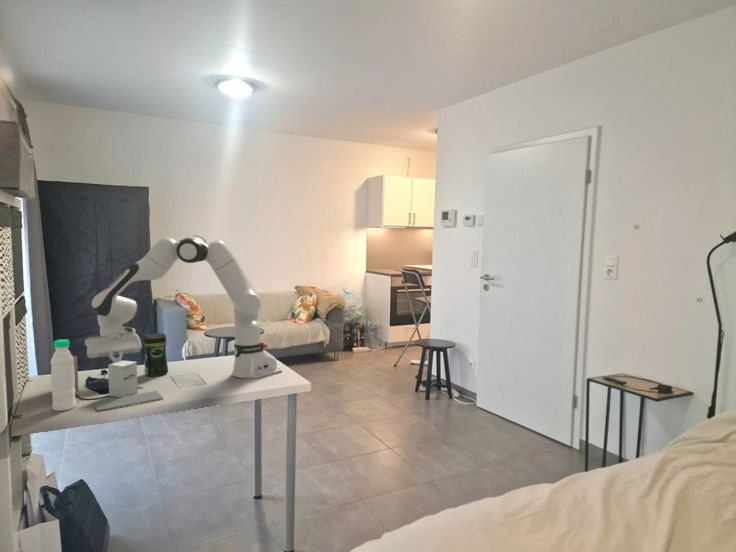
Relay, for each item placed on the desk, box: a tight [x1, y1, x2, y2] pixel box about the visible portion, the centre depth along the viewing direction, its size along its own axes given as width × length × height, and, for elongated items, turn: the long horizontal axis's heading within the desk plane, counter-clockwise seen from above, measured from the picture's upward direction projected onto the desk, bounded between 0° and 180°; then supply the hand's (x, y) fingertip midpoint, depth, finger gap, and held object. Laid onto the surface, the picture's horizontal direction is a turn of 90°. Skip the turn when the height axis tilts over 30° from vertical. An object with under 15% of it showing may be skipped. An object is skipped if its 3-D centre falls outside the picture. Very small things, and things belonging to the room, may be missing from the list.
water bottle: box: [50, 338, 77, 412], centre depth 168 cm, size 7×7×25 cm
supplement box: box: [107, 360, 138, 398], centre depth 184 cm, size 7×7×13 cm
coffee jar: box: [143, 332, 169, 377], centre depth 211 cm, size 10×8×19 cm
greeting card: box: [72, 355, 79, 394], centre depth 185 cm, size 11×7×15 cm, turn 42°
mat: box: [92, 390, 164, 413], centre depth 177 cm, size 22×10×1 cm, turn 128°
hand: (117, 362), depth 193 cm, fingers closed
